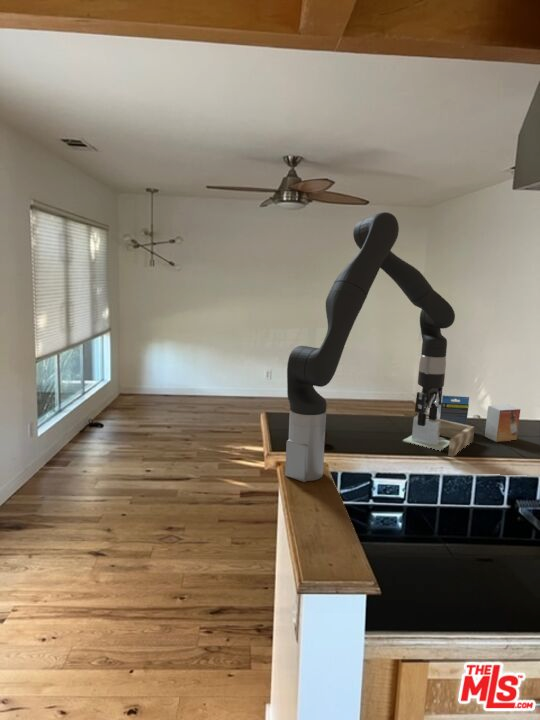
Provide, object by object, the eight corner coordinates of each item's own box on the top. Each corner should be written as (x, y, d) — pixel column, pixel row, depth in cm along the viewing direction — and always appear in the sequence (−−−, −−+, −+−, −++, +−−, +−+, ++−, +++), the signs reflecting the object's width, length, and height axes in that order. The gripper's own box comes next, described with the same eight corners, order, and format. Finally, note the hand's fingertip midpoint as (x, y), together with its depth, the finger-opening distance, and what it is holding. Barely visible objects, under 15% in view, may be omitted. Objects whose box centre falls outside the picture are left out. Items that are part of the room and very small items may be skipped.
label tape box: (462, 428, 171) (466, 393, 169) (465, 432, 167) (469, 396, 165) (435, 427, 172) (439, 392, 170) (438, 431, 168) (442, 395, 166)
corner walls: (452, 457, 146) (454, 440, 145) (393, 441, 157) (395, 426, 156) (472, 441, 159) (474, 426, 158) (417, 428, 170) (418, 414, 169)
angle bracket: (411, 440, 157) (413, 417, 156) (419, 435, 162) (421, 413, 161) (436, 446, 152) (438, 422, 151) (444, 441, 157) (446, 418, 156)
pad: (440, 451, 150) (440, 450, 150) (402, 441, 157) (402, 440, 157) (452, 442, 157) (452, 441, 157) (416, 433, 165) (416, 432, 165)
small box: (495, 442, 159) (499, 410, 157) (483, 436, 164) (487, 405, 162) (517, 440, 161) (521, 409, 159) (504, 435, 166) (508, 404, 164)
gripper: (429, 365, 159) (424, 415, 162) (409, 371, 148) (405, 424, 151) (453, 369, 154) (447, 420, 157) (434, 375, 143) (429, 430, 146)
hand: (426, 422), depth 154 cm, fingers open, 8 cm apart
